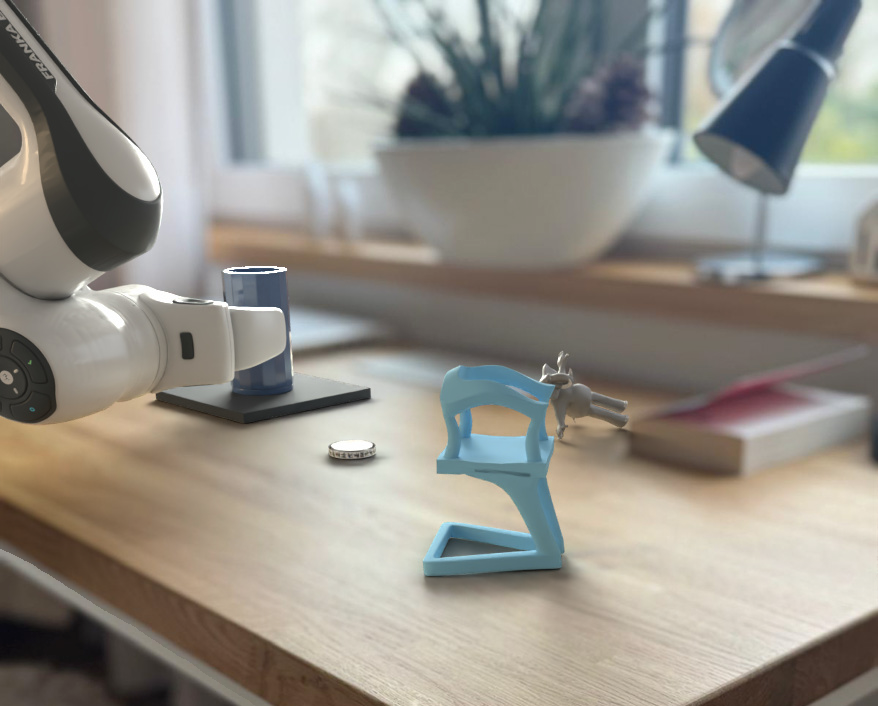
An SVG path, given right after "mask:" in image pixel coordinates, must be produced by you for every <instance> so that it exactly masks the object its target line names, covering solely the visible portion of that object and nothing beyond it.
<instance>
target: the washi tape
mask: <svg viewBox="0 0 878 706" xmlns="http://www.w3.org/2000/svg"><path fill="white" fill-rule="evenodd" d="M327 448H328V449H327V450H328V455H329V456H330V457H333V458H335V459H336V458H337V459H343V460H354V459H355V460H356V459H357V460H358V459H364V458H369V457H372V456H374V455H375V454H376V453H377V446H376V444H375V443H374V442H372V441H367V440H361V439H347V440H341V441H340V440H339V441H335V442H332V443H330V444H329V445H328V447H327Z"/></svg>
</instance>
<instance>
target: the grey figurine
mask: <svg viewBox="0 0 878 706" xmlns="http://www.w3.org/2000/svg"><path fill="white" fill-rule="evenodd" d="M569 356H570V354H569V353H566V354H565V350H561V351H560V352H559V353H558V357H557V358H558V359H557V362H556V366H558V371H556V370H555V369H553V368H552V367H550V366H549V365H548V363H545V364H544V365H543V366H542V370H541V371H542V372H541V373H542V376H541V378H540V379H539V380H538V381H539V382H542V383H545V384H551V385H555V388H554V390H553V393H552V395H551V397H550V399H549V404H550V406H552V408H553V413H554V417H555V420H556V423H557V427H556V429H555V434H556V436H557V438H556V440H558V441H561V440H562V439H563V437H564V432H565V430H566V428H569V425H568V424H566V421H565V420H566V416H567V417H570V418H571V419H572V421H573V422H574V424H575V425H576V423H577V422H576V419H581V418H582V419H583V418H584V417H590V418H593V419H597V420H601V421H603V422H606V423H609V424H611V425H613V426H615V427H618V428H620V429H622V428H624V427H626V425H627V424H628V423H629V419H630V416H629V414H622V413H623V412H625V410H626V409H627V407H628V404H629V402H628V401H627V400H622V399H617V398H613V397H611V396H607V395H603V394H601V393H598V392H595V391H592V389H591V388H590V387H589V386H587V385H585V384H582V383H575V384H574V381H575V379H574V377H573V370H572V368H571V367H569V371H568V373H566V366H567V361H568V359H569Z"/></svg>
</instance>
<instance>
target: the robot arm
mask: <svg viewBox="0 0 878 706" xmlns="http://www.w3.org/2000/svg"><path fill="white" fill-rule="evenodd" d="M0 105H1V106H2V107H3V109H4V110H5V111H6V112H7V113H8V115H9V116H10V118H12V119H13V121H14V122H15V123H16V125H17V126H18V128H19V131H20V134H21V147H20V151H19V152H18V153H17V154H16V155H14V156H13V157H12V158H10V159H9V160H8V161H6V162H5V163H4V164H3V165H1V166H0V417H1V418H3V419H6V420H9V421H11V422H14V423H17V424H21V425H29V426H47V425H55V424H56V425H57V424H62V423H67V422H72V421H76V420H79V419H83V418H86V417H89V416H92V415H95V414H97V413H101V412H103V411H105V410H107V409H109V408H111V407H112V406H113V405H115V404H116V403H124V402H128V401H129V402H130V401H132V400H135V399H137V398H140V397H143V396H145V395H148V394H154V395H156V393H159V392H161V391H164V390H168V389H172V388H176V387H190V386H203V385H214V384H224V383H227V382H230V381H232V380H233V379H234V371H239V370H244V369H248V368H251V367H254V366H256V365H259V364H261V363H263V362H265V361H267V360H269V359H271V358H273V357H275V356H277V355H279V354H280V353H282V352H283V351H284V349H285V347H286V325H285V318H284V314H283V312H282V311H281V310H280V309H278V308H254V307H228V305H227V304H226V303H224V301H214V300H212V299H211V300H209V299H200V298H199V299H198V298H191V297H185V296H179V295H176V294H173V293H169V292H166V291H162V290H157V289H155V288H153V287H152V286H151V287H150V286H148V285H144V284H137V283H130V284H125V285H119V286H114V287H110V288H105V289H99V290H93V289H92V288H90V287H89V286H88V285H89V284H91V283H92V282H94V281H95V280H97V279H98V278H100V277H101V276H102V275H104V274H106V273H107V272H111V271H113V270H116V269H117V268H119V267H122V266H123V265H125V264H127V263H129V262H131V261H133V260H135V259H137V258H139V257H140V256H142V255H145V254H147V253H148V252H150V251H151V250H152V249H153V248H154V246H155V244H156V242H157V239H158V237H159V233H160V228H161V223H162V219H163V218H162V217H163V210H164V209H163V208H164V193H163V185H162V182H161V179H160V177H159V173H158V172H157V170H156V168H155V167H154V165H153V163H152V162H151V161H150V159H149V157H148V156H147V155H146V154H145V152H144V151H143V150H142V149H141V147H140V146H139V145H138V144H137V143H136V142H135V141H134V140H133V139H132V137H131V136H130V135H128V133H126V132H125V131H124V130H123V129H122V127H120V126H119V124H118V123H117V122H115V121H114V120H113V118H112V117H110V116H109V115H108V114H107V113H106V112H105V111H104V110H103V109H102V108H101V107H100V106H99V105H98V104H97V103H96V102H95V101H94V100H93V99H92V97H91V96H90V95H89V94H88V93H87V92H86V90H85V89H84V87H82V85H81V84H80V83H79V82H78V80H77V79H76V78H75V76H73V74H72V73H71V72H70V70H69V69H68V67H66V66H65V64H64V63H63V62H62V61H61V60H60V58H59V57H58V56H57V55H56V53H55V52H54V51H53V50H52V48H51V47H50V46H49V44H48V43H47V42H46V41H45V40H44V38H43V37H42V36H41V34H40V33H39V32H38V31H37V29H36V28H35V27H34V26H33V25H32V24H31V22H30V21H29V20H28V18H26V16H25V15H24V14H23V13H22V11H21V10H20V9H19V8H18V6H17V5H16V4H15V2H14V1H13V0H0Z"/></svg>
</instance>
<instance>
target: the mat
mask: <svg viewBox="0 0 878 706" xmlns="http://www.w3.org/2000/svg"><path fill="white" fill-rule="evenodd" d="M293 375H294V382H293V383H294V388H293V390H291V391H289V392H285V393H281V394H274V395H261V396H253V395H241V394H237V393H234V392H233V391H232V386H231V381H230V382H227V383H224V384H214V385H203V386H190V387H176V388H172V389H168V390H164V391H161V392H159V393H156V394H155V400H157V401H159V402H160V401H161V402H164V403H169V404H171V405H176V406H179V407H183V408H187V409H190V410H193V411H196V412H200V413H204V414H208V415H210V416H211V415H212V416H214V417H215V416H216V417H219V418H222V419H226V420H230V421H234V422H236V423H241V424H250V423H253V422H255V423H256V422H259V421H263V420H268V419H273V418H278V417H283V416H289V415H293V414H297V413H303V412H307V411H312V410H316V409H321V408H326V407H331V406H336V405H341V404H346V403H351V402H355V401H360V400H364V399H370V398H371V397H372V389H371V387H367V386H363V385H357V384H353V383H348V382H343V381H339V380H334V379H329V378H324V377H319V376H315V375H310V374H306V373H301V372H295V371H293Z"/></svg>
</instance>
